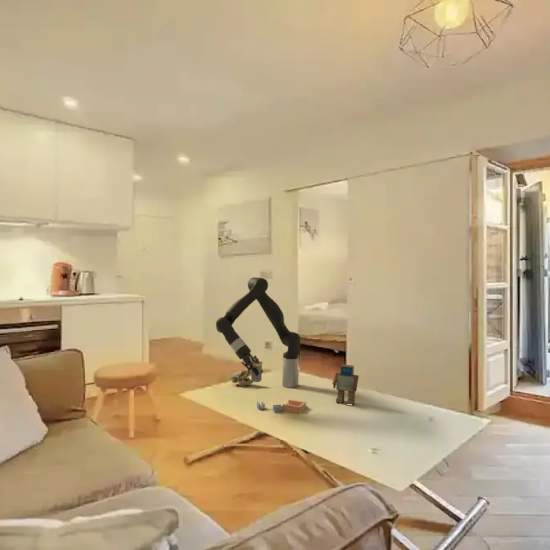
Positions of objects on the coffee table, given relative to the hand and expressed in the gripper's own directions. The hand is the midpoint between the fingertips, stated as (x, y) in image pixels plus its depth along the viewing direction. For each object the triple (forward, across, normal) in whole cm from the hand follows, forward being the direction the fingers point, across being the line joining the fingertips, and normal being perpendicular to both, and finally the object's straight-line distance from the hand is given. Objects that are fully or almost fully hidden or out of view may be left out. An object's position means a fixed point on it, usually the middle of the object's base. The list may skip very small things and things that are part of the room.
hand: (259, 373), depth 224 cm
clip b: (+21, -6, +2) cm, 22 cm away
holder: (+25, +2, -2) cm, 25 cm away
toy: (+40, +24, -17) cm, 50 cm away
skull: (-6, +29, +29) cm, 42 cm away
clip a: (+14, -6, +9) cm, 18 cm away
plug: (+1, 0, +4) cm, 5 cm away
